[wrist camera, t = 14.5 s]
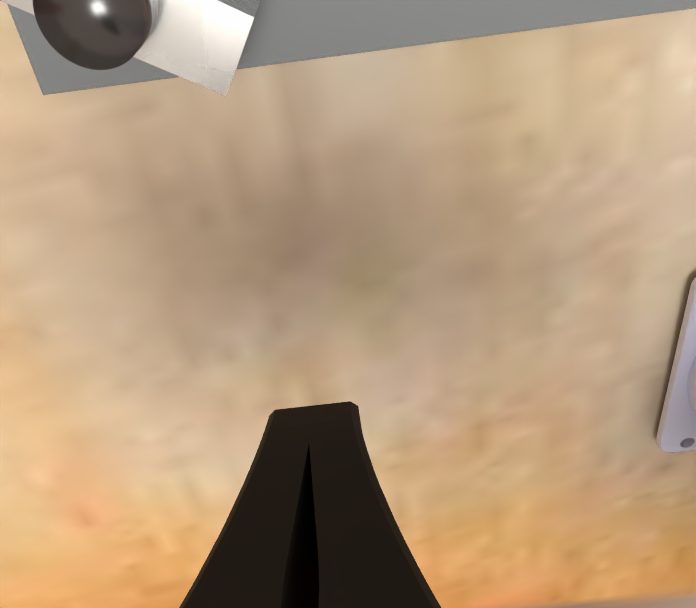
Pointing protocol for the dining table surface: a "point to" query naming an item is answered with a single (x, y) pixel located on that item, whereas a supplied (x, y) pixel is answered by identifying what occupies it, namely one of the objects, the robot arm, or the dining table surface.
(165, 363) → the dining table surface
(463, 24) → the crank board
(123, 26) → the crank
